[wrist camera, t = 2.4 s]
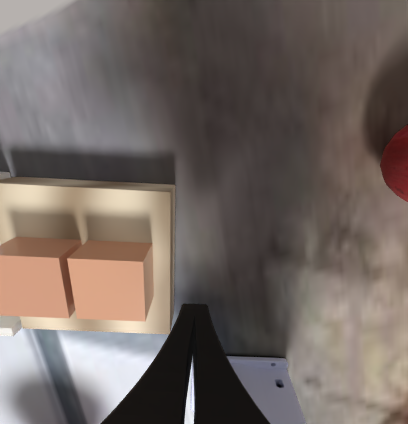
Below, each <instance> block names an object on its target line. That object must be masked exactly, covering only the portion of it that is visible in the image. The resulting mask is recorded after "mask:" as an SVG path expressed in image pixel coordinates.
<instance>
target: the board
mask: <svg viewBox="0 0 408 424" xmlns="http://www.w3.org/2000/svg"><path fill="white" fill-rule="evenodd" d="M15 237H33V238H54V239H75V240H81V242H82V245H83V244H84V243H86V242H87V241H88V240H97V241H118V242H139V243H153V283H154V297H153V300H152V303H151V306H150V309H149V312H148V315H147V318H146V322H144V321H119V320H95V319H77V316H76V310H75V312H74V313H73V314H72V315H71V317H70V318H47V317H23V316H20V320H21V324H22V327H23V328H28V329H52V330H77V331H102V332H126V333H151V334H170V331H171V325H172V319H173V314H174V255H175V185H170V184H150V183H131V182H112V181H92V180H73V179H53V178H34V177H11V178H6V179H1V180H0V244H3V243H5V242H7V241H9V240H11V239H13V238H15Z"/></svg>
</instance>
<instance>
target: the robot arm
mask: <svg viewBox="0 0 408 424" xmlns="http://www.w3.org/2000/svg"><path fill="white" fill-rule="evenodd" d="M192 355H193V368H192V389H191V411H193V412H194V424H306V421H305V418H304V415H303V413H302V410H301V407H300V404H299V402H298V399H297V396H296V393H295V390H294V388H293V385H292V382H291V379H290V377H289V374H288V371H287V367H288V362H287V360H286V359H284V358H265V357H239V356H226V354H225V352H224V350H223V348H222V346H221V344H220V341H219V339H218V336H217V334H216V332H215V329H214V326H213V323H212V320H211V317H210V313H209V309H208V306H207V305H206V304H183V305H182V307H181V310H180V313H179V315H178V318H177V320H176V322H175V324H174V326H173V328H172V330H171V332H170V334H169V336H168V338H167V339H166V341H165V343H164V345H163V346H162V348H161V350H160V351H159V353H158V354H157V356H156V357H155V359H154V360H153V362H152V363H151V365H150V366H149V368H148V369H147V370H146V372H145V373H144V374H143V376H142V377H141V378H140V380H139V381H138V382H137V383H136V385H135V386H134V387H133V388H132V390H131V391H130V392H129V393H128V394H127V395H126V397H125V398H124V399H123V400H122V401H121V402H120V403H119V405H118V406H117V407H116V408H115V409H114V410H113V411H112V412H111V413H110V414H109V415H108V416H107V417H106V418H105V419H104V420H103V421H102V423H101V424H184V418H185V407H186V399H187V391H188V384H189V377H190V369H191V362H192Z"/></svg>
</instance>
